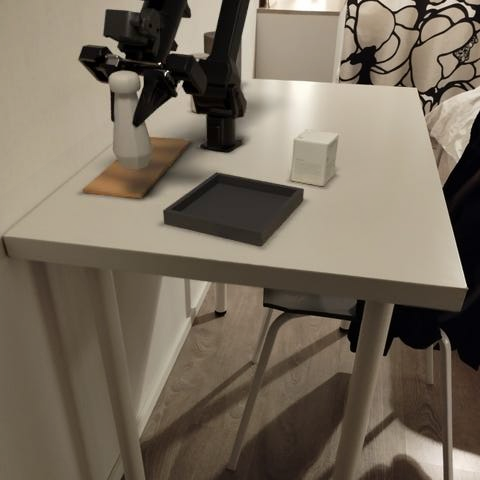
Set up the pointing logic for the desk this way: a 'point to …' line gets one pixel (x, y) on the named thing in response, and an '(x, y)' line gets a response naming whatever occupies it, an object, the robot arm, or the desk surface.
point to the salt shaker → (128, 122)
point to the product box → (314, 157)
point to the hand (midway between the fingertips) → (124, 123)
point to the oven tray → (235, 208)
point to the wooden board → (138, 171)
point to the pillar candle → (208, 46)
